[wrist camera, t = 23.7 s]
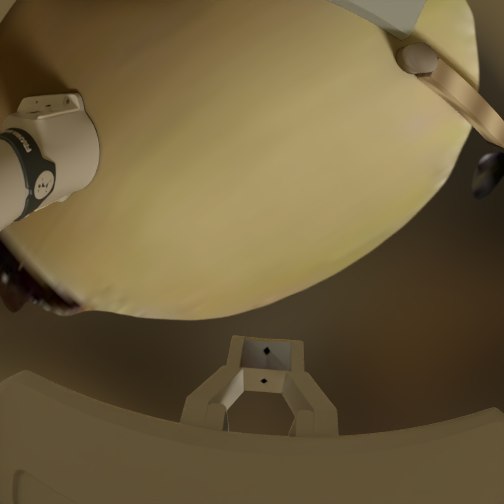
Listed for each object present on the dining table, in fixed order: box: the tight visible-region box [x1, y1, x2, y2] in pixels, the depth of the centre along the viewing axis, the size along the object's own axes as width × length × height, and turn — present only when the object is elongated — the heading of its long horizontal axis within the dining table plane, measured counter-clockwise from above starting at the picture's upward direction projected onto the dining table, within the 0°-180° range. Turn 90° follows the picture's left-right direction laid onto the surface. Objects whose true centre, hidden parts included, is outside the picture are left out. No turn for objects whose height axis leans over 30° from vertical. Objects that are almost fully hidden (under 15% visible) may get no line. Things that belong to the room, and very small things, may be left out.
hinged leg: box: [396, 42, 504, 153], centre depth 23 cm, size 19×4×4 cm, turn 67°
